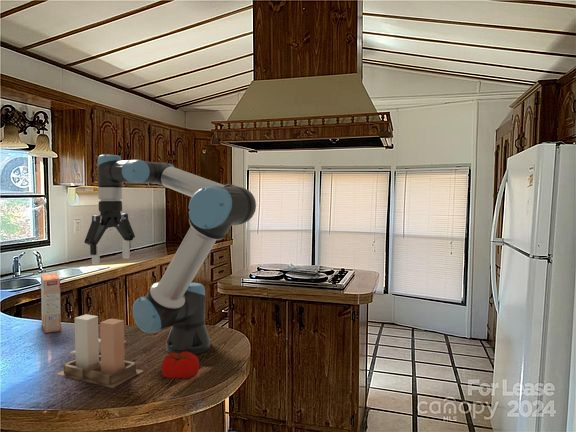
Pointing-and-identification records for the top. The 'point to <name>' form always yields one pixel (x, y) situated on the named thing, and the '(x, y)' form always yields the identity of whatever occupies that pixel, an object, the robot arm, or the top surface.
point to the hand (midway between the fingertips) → (111, 261)
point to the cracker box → (50, 302)
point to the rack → (100, 373)
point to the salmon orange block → (112, 345)
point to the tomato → (180, 365)
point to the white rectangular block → (86, 340)
